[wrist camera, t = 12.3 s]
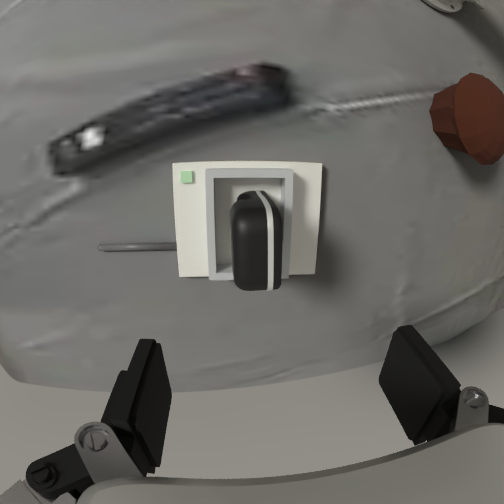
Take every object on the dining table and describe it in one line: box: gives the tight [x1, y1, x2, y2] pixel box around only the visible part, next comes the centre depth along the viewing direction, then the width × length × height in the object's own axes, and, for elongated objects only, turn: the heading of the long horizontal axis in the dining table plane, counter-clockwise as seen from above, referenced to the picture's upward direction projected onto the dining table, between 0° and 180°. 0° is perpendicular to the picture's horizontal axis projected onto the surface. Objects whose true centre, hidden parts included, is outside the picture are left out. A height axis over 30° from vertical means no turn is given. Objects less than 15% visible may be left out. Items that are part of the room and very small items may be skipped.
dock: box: [98, 161, 322, 280], centre depth 31 cm, size 26×13×4 cm, turn 90°
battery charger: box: [230, 190, 282, 291], centre depth 27 cm, size 7×4×11 cm, turn 1°
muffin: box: [429, 73, 504, 165], centre depth 25 cm, size 12×11×10 cm
